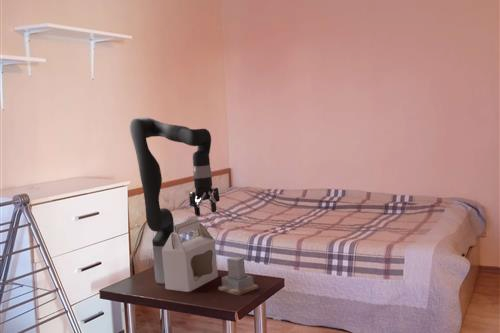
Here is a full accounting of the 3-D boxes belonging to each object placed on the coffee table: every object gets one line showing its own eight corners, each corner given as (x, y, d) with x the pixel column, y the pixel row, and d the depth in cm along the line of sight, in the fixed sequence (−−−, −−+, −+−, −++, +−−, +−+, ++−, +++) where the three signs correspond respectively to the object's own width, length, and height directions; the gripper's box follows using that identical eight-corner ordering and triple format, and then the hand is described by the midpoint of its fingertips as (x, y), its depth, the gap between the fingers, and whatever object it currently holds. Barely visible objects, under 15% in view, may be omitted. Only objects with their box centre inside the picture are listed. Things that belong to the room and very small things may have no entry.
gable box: (188, 292, 217) (182, 227, 215) (164, 289, 224) (158, 226, 222) (218, 276, 236) (213, 216, 234) (195, 274, 243) (190, 216, 241)
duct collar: (222, 286, 218) (221, 277, 217) (237, 281, 224) (236, 272, 223) (238, 291, 210) (238, 281, 210) (253, 285, 216) (252, 276, 216)
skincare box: (246, 285, 217) (244, 257, 216) (240, 288, 213) (238, 260, 212) (235, 283, 220) (232, 256, 219) (229, 286, 217) (226, 258, 216)
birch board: (218, 289, 218) (218, 286, 218) (237, 282, 225) (237, 279, 225) (238, 295, 208) (238, 292, 208) (258, 288, 216) (258, 285, 216)
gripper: (210, 173, 225) (213, 210, 226) (183, 178, 215) (187, 216, 217) (221, 174, 219) (224, 211, 221) (194, 178, 210) (198, 217, 211)
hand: (205, 214), depth 219 cm, fingers open, 8 cm apart
